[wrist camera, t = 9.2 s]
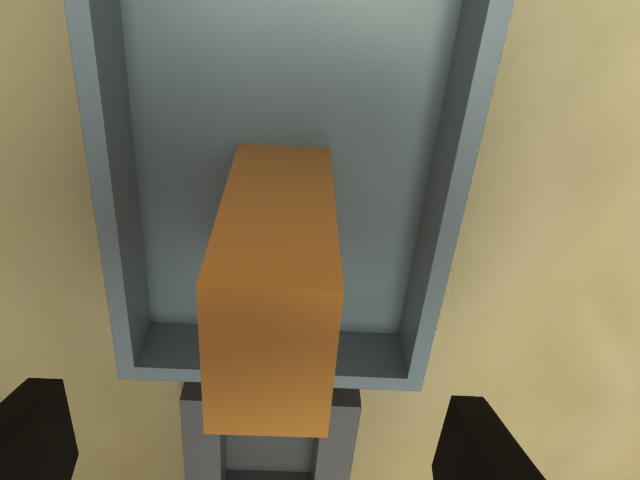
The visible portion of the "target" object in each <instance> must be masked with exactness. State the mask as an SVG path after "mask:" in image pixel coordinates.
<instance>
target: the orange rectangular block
mask: <svg viewBox="0 0 640 480" xmlns="http://www.w3.org/2000/svg"><path fill="white" fill-rule="evenodd" d="M196 298H197V317H198V335H199V353H200V372H201V390H202V408H203V427H204V434H216V435H249V436H282V437H316V438H328V430H329V421H330V413H331V404H332V395H333V386H334V377H335V368H336V360H337V351H338V342H339V333H340V324H341V316H342V307H343V298H344V285H343V275H342V265H341V255H340V245H339V235H338V225H337V215H336V205H335V195H334V185H333V175H332V165H331V155H330V148H317V147H299V146H282V145H265V144H248V143H238V145H237V149H236V152H235V155H234V159H233V162H232V165H231V169H230V172H229V175H228V179H227V182H226V186H225V189H224V192H223V196H222V199H221V202H220V206H219V209H218V212H217V216H216V219H215V222H214V226H213V229H212V233H211V236H210V239H209V243H208V246H207V249H206V253H205V256H204V259H203V263H202V266H201V270H200V273H199V276H198V280H197V283H196Z"/></svg>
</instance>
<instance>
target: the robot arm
mask: <svg viewBox="0 0 640 480" xmlns="http://www.w3.org/2000/svg"><path fill="white" fill-rule="evenodd" d="M78 455H79V453H78V449H77V444H76V439H75V435H74V430H73V425H72V421H71V416H70V411H69V407H68V402H67V397H66V393H65V388H64V383H63V379H44V378H28V379H26V380H25V381H24V382H23V383H22V384H21V385H20V386H18V387H17V388H16V389H15V390H14V391H13V392H12V393H11V394H10V395H8V396H7V397H6V398H5V399H4V400H3V401H2V402H1V403H0V480H71V478H72V475H73V471H74V468H75V465H76V461H77V458H78ZM432 472H433V480H546V479H545V478H544V476H543V475H542V474H541V473H540V471H539V470H538V469H537V467H536V466H535V465H534V464H533V462H532V461H531V460H530V458H529V457H528V456H527V454H526V453H525V452H524V450H523V449H522V448H521V447H520V445H519V444H518V443H517V441H516V440H515V439H514V437H513V436H512V435H511V433H510V432H509V430H508V429H507V428H506V426H505V425H504V424H503V422H502V421H501V420H500V418H499V417H498V416H497V414H496V413H495V412H494V410H493V409H492V407H491V406H490V405H489V403H488V402H487V401H486V400H485V399H484V397H475V396H451V399H450V403H449V406H448V410H447V413H446V417H445V420H444V424H443V428H442V431H441V435H440V438H439V442H438V445H437V449H436V453H435V456H434V460H433V463H432Z"/></svg>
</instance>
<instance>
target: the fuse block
mask: <svg viewBox="0 0 640 480" xmlns="http://www.w3.org/2000/svg"><path fill="white" fill-rule="evenodd" d="M180 409H181V424H182V438H183V452H184V466H185V480H349V479H350V473H351V467H352V461H353V455H354V449H355V443H356V437H357V431H358V425H359V419H360V413H361V399H360V390H359V389H351V388H333V395H332V404H331V413H330V421H329V430H328V438H316V437H282V436H249V435H216V434H204V427H203V408H202V390H201V382H184V386H183V390H182V394H181V398H180Z"/></svg>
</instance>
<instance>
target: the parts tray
mask: <svg viewBox="0 0 640 480" xmlns="http://www.w3.org/2000/svg"><path fill="white" fill-rule="evenodd" d="M513 4H514V0H64V6H65V13H66V20H67V27H68V34H69V41H70V47H71V54H72V61H73V68H74V75H75V82H76V89H77V96H78V103H79V109H80V116H81V123H82V130H83V137H84V144H85V151H86V158H87V164H88V171H89V178H90V185H91V192H92V199H93V206H94V213H95V220H96V226H97V233H98V240H99V247H100V254H101V261H102V268H103V275H104V281H105V288H106V295H107V302H108V309H109V316H110V323H111V330H112V337H113V343H114V350H115V357H116V364H117V371H118V378H119V379H135V380H159V381H183V382H201V372H200V353H199V335H198V317H197V298H196V283H197V280H198V276H199V273H200V270H201V266H202V263H203V259H204V256H205V253H206V249H207V246H208V243H209V239H210V236H211V233H212V229H213V226H214V222H215V219H216V216H217V212H218V209H219V206H220V202H221V199H222V196H223V192H224V189H225V186H226V182H227V179H228V175H229V172H230V169H231V165H232V162H233V159H234V155H235V152H236V149H237V145H238V143H248V144H265V145H282V146H299V147H317V148H330V155H331V165H332V175H333V185H334V195H335V205H336V215H337V225H338V235H339V245H340V255H341V265H342V275H343V285H344V298H343V307H342V316H341V324H340V333H339V342H338V351H337V360H336V368H335V377H334V386H333V388H351V389H375V390H399V391H421V389H422V385H423V380H424V376H425V372H426V368H427V364H428V360H429V355H430V351H431V347H432V343H433V339H434V334H435V330H436V326H437V322H438V318H439V313H440V309H441V305H442V301H443V297H444V293H445V288H446V284H447V280H448V276H449V272H450V267H451V263H452V259H453V255H454V251H455V246H456V242H457V238H458V234H459V230H460V226H461V221H462V217H463V213H464V209H465V205H466V200H467V196H468V192H469V188H470V184H471V179H472V175H473V171H474V167H475V163H476V159H477V154H478V150H479V146H480V142H481V138H482V133H483V129H484V125H485V121H486V117H487V112H488V108H489V104H490V100H491V96H492V92H493V87H494V83H495V79H496V75H497V71H498V66H499V62H500V58H501V54H502V50H503V45H504V41H505V37H506V33H507V29H508V25H509V20H510V16H511V12H512V8H513Z"/></svg>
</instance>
